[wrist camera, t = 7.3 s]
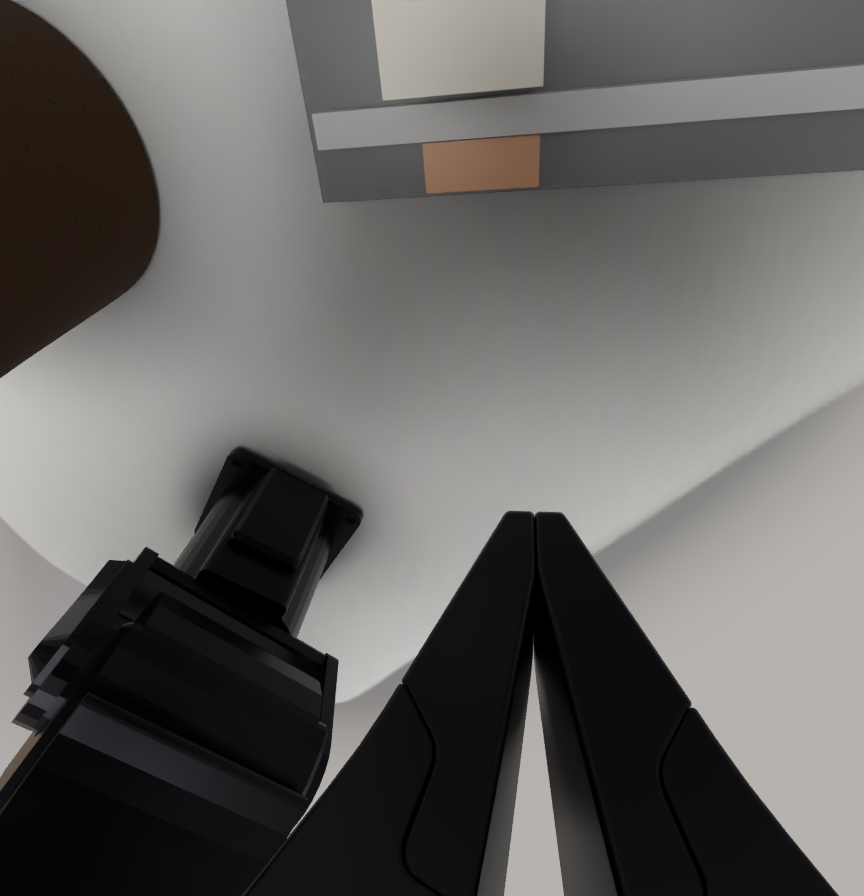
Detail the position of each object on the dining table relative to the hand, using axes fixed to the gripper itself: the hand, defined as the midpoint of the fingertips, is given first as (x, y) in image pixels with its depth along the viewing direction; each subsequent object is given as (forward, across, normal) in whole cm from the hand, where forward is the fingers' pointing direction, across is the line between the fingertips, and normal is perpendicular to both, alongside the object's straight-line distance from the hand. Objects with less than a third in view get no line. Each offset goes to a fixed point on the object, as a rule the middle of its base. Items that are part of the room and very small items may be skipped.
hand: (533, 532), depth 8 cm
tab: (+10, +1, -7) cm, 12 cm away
